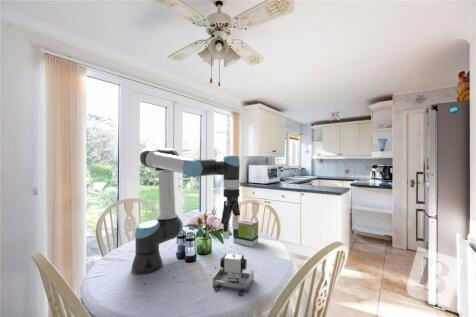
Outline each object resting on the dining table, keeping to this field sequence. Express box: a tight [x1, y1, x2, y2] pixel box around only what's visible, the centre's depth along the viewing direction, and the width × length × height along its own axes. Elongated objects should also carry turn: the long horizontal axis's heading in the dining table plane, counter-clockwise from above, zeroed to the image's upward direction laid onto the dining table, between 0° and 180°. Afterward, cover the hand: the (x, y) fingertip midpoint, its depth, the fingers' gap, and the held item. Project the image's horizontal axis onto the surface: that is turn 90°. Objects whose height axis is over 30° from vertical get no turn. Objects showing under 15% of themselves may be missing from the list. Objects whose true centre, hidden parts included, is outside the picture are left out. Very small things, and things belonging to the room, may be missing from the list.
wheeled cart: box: [212, 266, 255, 297], centre depth 99 cm, size 17×13×4 cm
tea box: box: [232, 218, 259, 248], centre depth 150 cm, size 15×10×15 cm
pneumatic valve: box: [219, 253, 248, 282], centre depth 101 cm, size 6×12×12 cm, turn 78°
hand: (231, 233), depth 102 cm, fingers open, 13 cm apart
